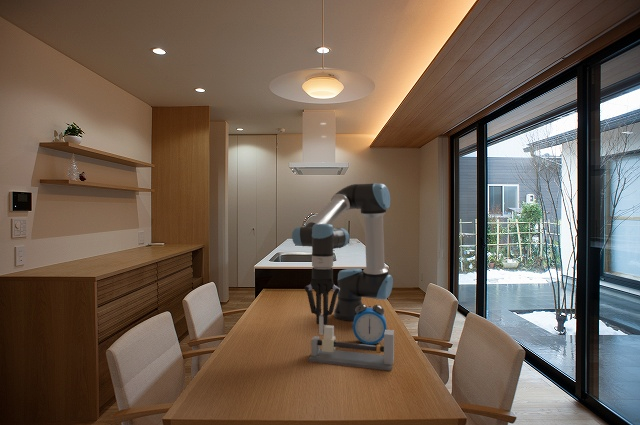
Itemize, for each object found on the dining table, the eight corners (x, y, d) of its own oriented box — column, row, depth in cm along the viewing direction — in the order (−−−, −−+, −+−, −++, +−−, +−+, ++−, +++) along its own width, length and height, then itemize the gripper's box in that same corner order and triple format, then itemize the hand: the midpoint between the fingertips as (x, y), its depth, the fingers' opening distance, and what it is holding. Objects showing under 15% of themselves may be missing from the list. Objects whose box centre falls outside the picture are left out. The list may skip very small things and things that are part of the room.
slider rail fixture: (316, 350, 139) (316, 321, 139) (394, 359, 131) (394, 328, 131) (308, 361, 129) (308, 329, 129) (392, 371, 122) (392, 337, 122)
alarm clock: (352, 344, 146) (352, 306, 145) (353, 338, 152) (353, 302, 151) (386, 346, 144) (386, 307, 143) (386, 340, 150) (386, 303, 149)
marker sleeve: (324, 346, 135) (325, 324, 135) (335, 347, 134) (335, 325, 134) (322, 351, 131) (322, 327, 131) (333, 352, 130) (333, 328, 130)
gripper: (301, 268, 131) (301, 335, 131) (338, 270, 127) (337, 338, 128) (308, 265, 138) (307, 328, 138) (342, 266, 134) (342, 331, 135)
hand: (322, 333), depth 133 cm, fingers closed
